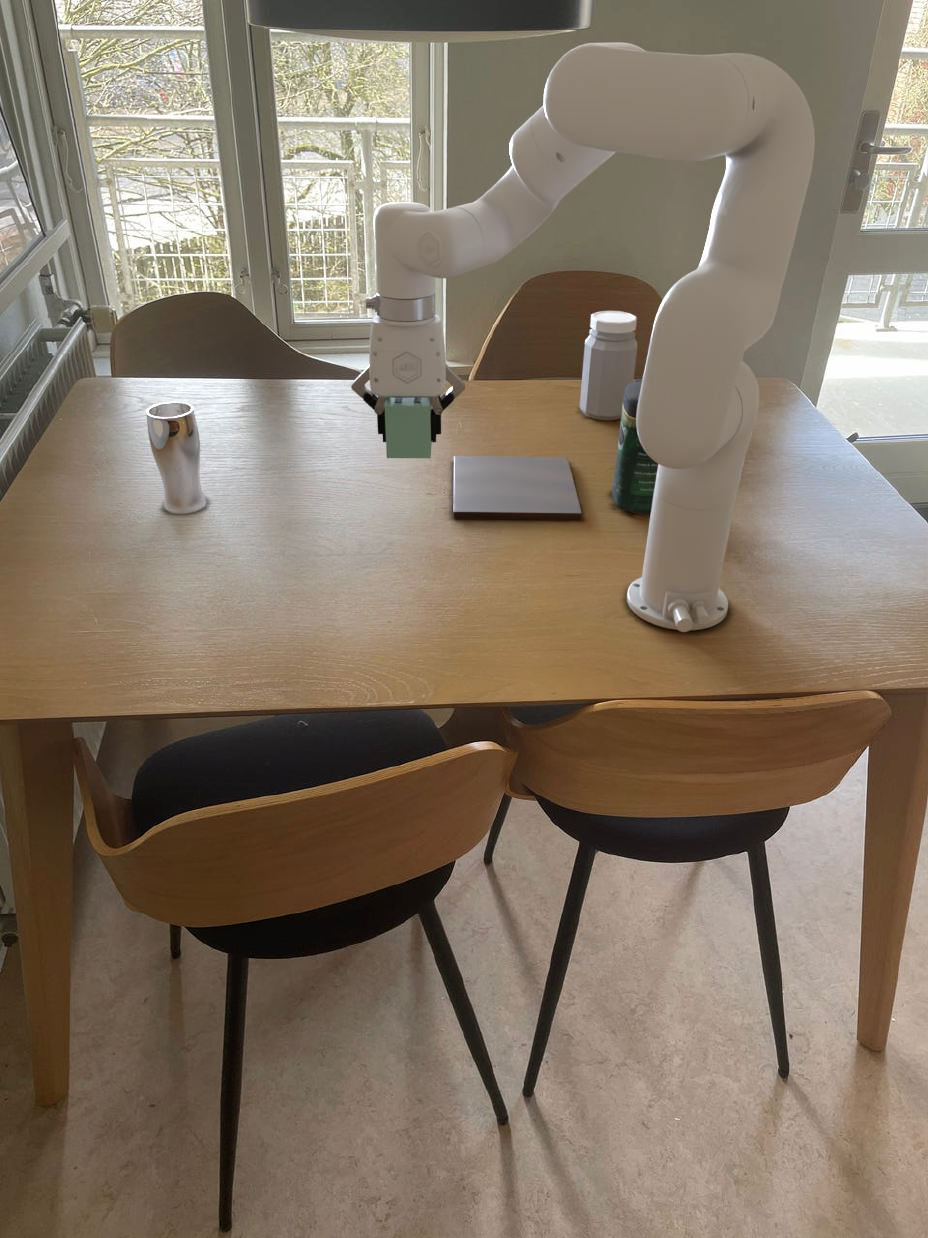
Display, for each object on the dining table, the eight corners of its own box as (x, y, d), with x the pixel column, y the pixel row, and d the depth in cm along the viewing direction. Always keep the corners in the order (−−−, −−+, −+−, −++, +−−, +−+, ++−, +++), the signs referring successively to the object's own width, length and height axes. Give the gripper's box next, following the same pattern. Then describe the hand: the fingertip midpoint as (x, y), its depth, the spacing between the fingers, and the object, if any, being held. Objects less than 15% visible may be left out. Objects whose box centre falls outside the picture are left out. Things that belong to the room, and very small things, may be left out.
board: (581, 520, 138) (581, 513, 137) (453, 518, 137) (453, 511, 137) (567, 463, 155) (567, 457, 155) (453, 462, 155) (454, 455, 154)
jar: (573, 404, 179) (581, 309, 170) (622, 403, 180) (633, 308, 171) (584, 422, 171) (593, 324, 162) (636, 421, 172) (647, 323, 163)
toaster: (430, 458, 126) (429, 405, 122) (386, 458, 126) (384, 404, 122) (432, 430, 135) (431, 380, 131) (391, 430, 135) (389, 379, 131)
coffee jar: (668, 516, 139) (686, 396, 129) (615, 515, 139) (630, 395, 129) (658, 489, 147) (675, 374, 137) (608, 488, 147) (621, 373, 137)
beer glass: (218, 505, 140) (204, 409, 132) (178, 520, 136) (161, 422, 127) (192, 491, 144) (177, 397, 136) (152, 505, 139) (134, 409, 131)
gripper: (336, 314, 117) (345, 448, 126) (473, 314, 117) (471, 449, 127) (342, 299, 123) (350, 428, 133) (472, 300, 123) (471, 429, 133)
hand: (409, 437), depth 130 cm, fingers closed on toaster, 6 cm apart
